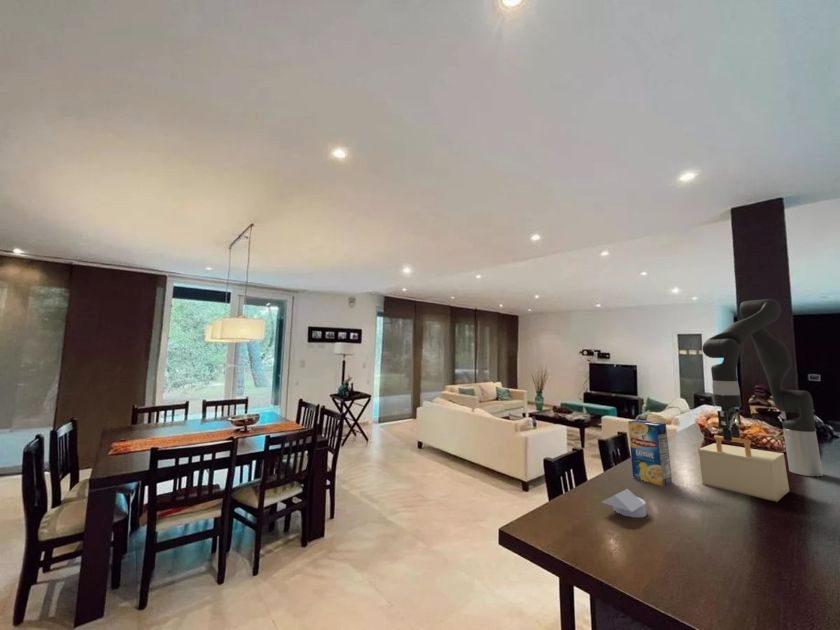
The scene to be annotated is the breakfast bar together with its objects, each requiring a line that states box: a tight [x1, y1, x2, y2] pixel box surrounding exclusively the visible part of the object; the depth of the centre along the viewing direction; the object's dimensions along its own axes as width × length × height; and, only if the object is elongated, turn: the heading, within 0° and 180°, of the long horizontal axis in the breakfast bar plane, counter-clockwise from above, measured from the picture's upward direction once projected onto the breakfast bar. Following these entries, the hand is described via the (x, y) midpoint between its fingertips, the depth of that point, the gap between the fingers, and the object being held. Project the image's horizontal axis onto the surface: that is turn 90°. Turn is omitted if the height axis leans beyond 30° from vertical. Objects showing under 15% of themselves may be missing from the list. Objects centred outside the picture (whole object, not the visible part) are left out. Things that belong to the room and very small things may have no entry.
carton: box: [698, 450, 790, 503], centre depth 128 cm, size 16×20×12 cm
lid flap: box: [698, 434, 785, 464], centre depth 129 cm, size 16×20×6 cm
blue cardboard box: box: [627, 419, 673, 487], centre depth 138 cm, size 7×11×22 cm, turn 30°
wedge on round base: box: [601, 488, 647, 518], centre depth 108 cm, size 9×7×13 cm
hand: (732, 439), depth 126 cm, fingers open, 8 cm apart
